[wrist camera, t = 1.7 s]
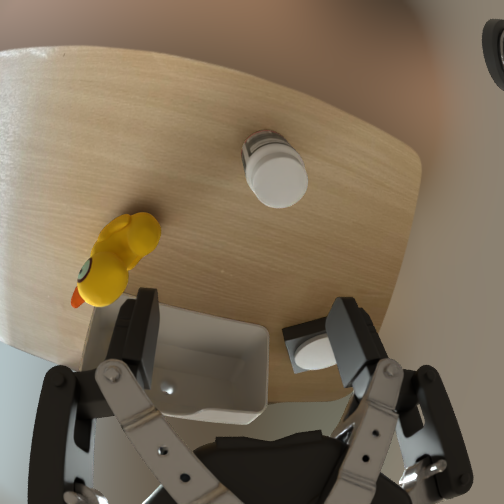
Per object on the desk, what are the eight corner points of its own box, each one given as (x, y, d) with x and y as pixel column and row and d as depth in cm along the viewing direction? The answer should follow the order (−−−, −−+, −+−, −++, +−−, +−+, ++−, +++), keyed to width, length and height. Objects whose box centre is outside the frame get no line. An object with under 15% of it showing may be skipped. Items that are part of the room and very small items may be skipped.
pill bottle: (278, 180, 28) (296, 221, 22) (233, 166, 27) (238, 203, 20) (296, 139, 26) (324, 167, 19) (251, 122, 24) (263, 143, 18)
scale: (350, 309, 41) (357, 325, 39) (350, 346, 48) (355, 360, 45) (282, 328, 42) (285, 345, 40) (292, 362, 49) (295, 377, 46)
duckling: (111, 270, 33) (87, 331, 25) (82, 241, 30) (49, 299, 22) (178, 226, 30) (164, 289, 22) (147, 189, 27) (118, 244, 19)
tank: (100, 348, 42) (85, 410, 32) (100, 285, 34) (72, 363, 24) (232, 376, 50) (237, 437, 40) (269, 326, 42) (282, 401, 32)
